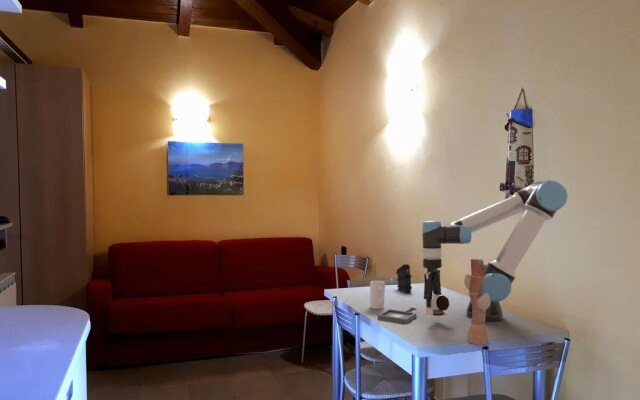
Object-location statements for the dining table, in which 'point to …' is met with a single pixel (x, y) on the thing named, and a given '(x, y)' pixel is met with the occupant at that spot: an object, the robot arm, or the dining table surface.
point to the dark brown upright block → (404, 278)
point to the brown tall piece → (477, 303)
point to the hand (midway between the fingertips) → (433, 312)
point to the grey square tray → (397, 316)
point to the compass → (441, 305)
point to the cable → (411, 308)
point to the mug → (377, 294)
